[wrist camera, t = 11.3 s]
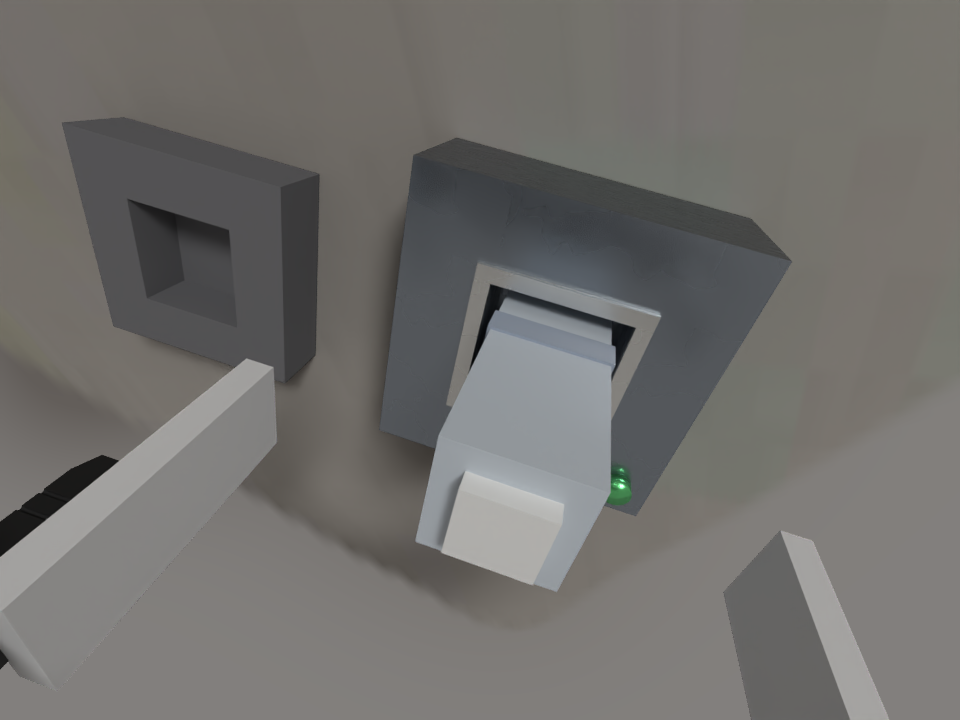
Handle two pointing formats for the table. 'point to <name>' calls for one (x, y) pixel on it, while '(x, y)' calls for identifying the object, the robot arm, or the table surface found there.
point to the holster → (201, 242)
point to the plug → (525, 445)
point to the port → (572, 292)
